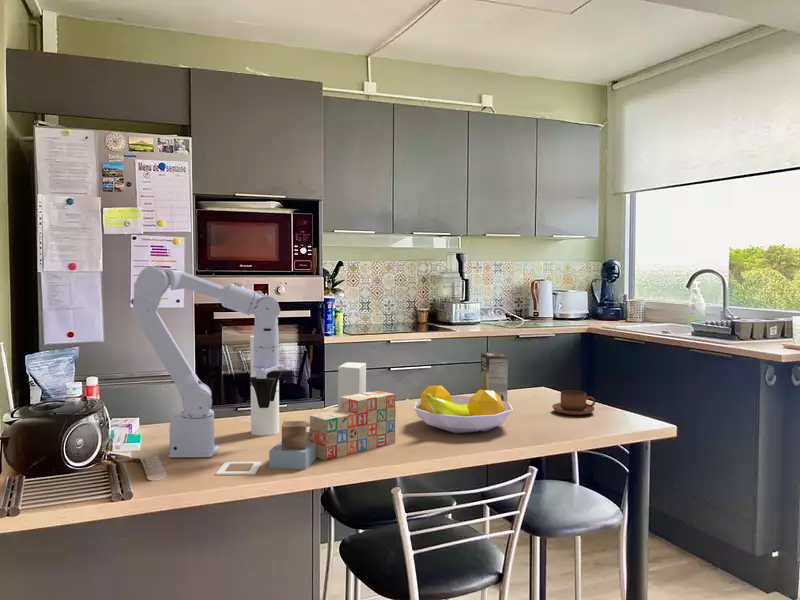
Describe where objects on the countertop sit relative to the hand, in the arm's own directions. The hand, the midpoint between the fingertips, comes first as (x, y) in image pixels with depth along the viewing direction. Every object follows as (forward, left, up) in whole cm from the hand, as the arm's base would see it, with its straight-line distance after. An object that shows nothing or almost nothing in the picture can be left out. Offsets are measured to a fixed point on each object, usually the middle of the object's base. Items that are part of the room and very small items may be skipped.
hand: (266, 404), depth 153 cm
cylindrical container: (-3, +15, -11) cm, 19 cm away
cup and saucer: (+84, +36, -11) cm, 92 cm away
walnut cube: (+8, -12, -7) cm, 16 cm away
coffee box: (+62, +46, -11) cm, 78 cm away
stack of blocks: (+20, -1, -11) cm, 23 cm away
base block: (+8, -12, -11) cm, 18 cm away
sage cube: (+9, -2, -10) cm, 14 cm away
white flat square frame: (-3, -16, -10) cm, 19 cm away
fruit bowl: (+48, +19, -11) cm, 53 cm away
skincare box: (+19, +29, -11) cm, 36 cm away
